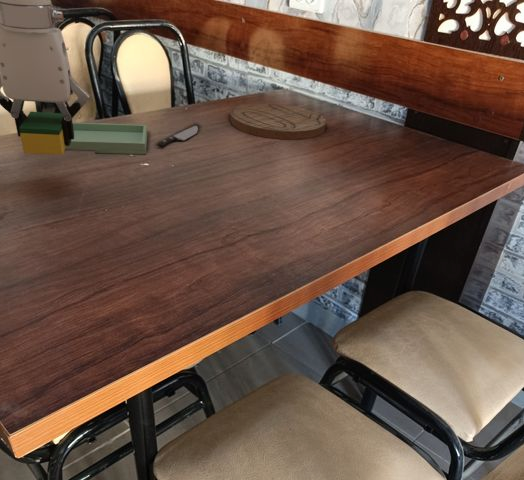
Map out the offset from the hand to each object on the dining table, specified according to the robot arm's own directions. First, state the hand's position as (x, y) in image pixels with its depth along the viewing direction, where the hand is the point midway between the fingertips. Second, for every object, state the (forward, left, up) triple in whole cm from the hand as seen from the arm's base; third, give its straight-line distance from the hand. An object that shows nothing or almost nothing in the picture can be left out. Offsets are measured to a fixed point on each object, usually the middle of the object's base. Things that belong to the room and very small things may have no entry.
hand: (47, 141), depth 86 cm
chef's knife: (+23, +31, -9) cm, 40 cm away
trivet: (+48, +45, -9) cm, 67 cm away
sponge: (0, 0, -1) cm, 1 cm away
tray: (+6, +26, -8) cm, 28 cm away
